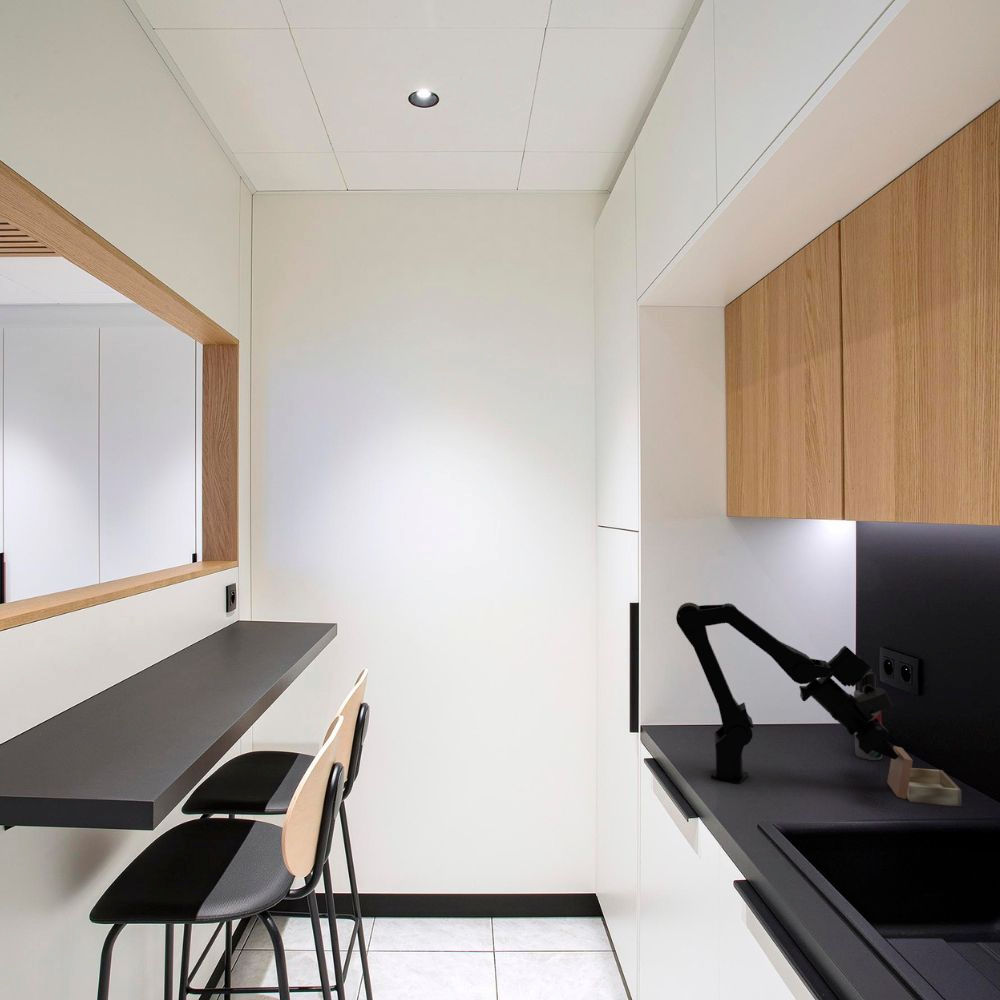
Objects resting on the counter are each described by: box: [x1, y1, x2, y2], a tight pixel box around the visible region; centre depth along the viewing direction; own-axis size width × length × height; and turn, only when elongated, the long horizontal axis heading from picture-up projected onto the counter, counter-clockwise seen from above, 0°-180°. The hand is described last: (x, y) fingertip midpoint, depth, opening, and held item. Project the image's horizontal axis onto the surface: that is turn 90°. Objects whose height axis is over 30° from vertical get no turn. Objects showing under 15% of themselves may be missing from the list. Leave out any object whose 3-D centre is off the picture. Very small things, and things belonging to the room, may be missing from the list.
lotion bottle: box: [853, 671, 883, 761], centre depth 165 cm, size 6×6×20 cm
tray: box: [906, 767, 963, 807], centre depth 143 cm, size 9×11×3 cm
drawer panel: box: [886, 745, 914, 800], centre depth 144 cm, size 2×8×8 cm, turn 164°
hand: (896, 757), depth 144 cm, fingers closed
